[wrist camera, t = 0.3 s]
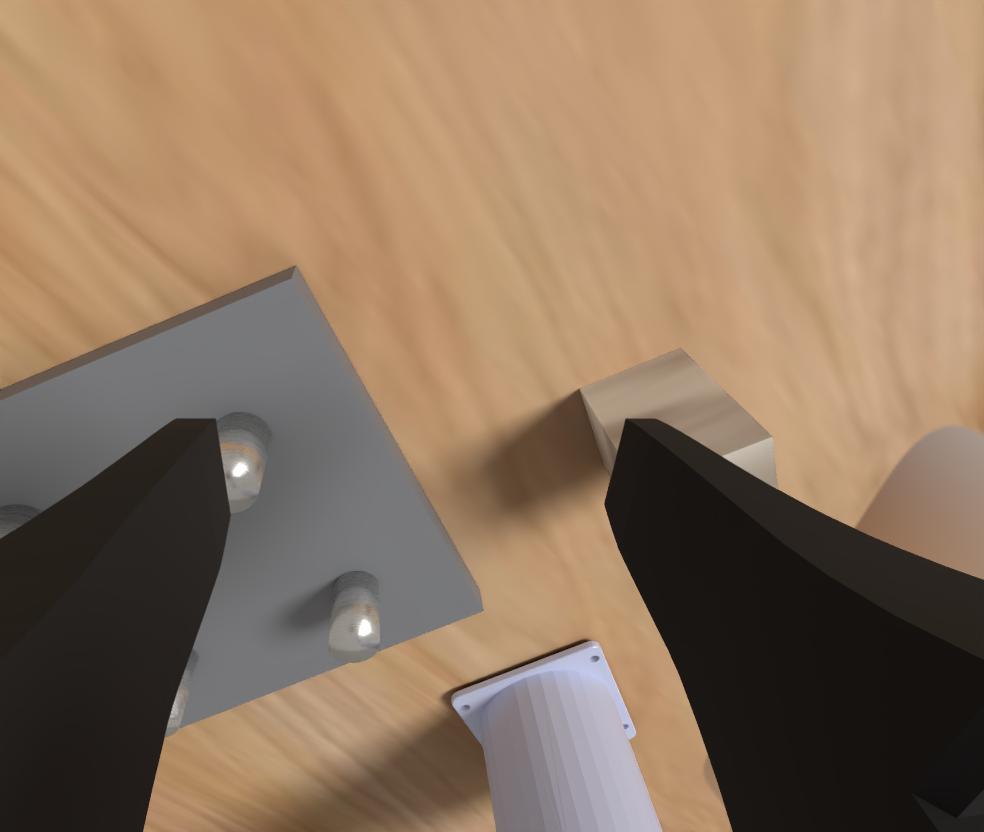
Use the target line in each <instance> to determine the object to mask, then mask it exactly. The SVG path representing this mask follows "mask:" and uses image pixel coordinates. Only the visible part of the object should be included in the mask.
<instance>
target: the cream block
mask: <svg viewBox="0 0 984 832" xmlns="http://www.w3.org/2000/svg"><path fill="white" fill-rule="evenodd" d="M579 389H580V392H581V395H582V398H583V401H584V404H585V407H586V411H587V414H588V417H589V420H590V423H591V426H592V429H593V432H594V435H595V439H596V442H597V445H598V448H599V451H600V454H601V457H602V460H603V463H604V467H605V468H606V470H607V472H608V474H609V476H610V477H611V475H612V471H613V467H614V463H615V459H616V455H617V451H618V447H619V443H620V439H621V435H622V431H623V427H624V423H625V419H626V418H656V419H658V420H660V421H662V422H664V423H666V424H668V425H670V426H672V427H674V428H676V429H677V430H679V431H681V432H683V433H684V434H686V435H688V436H689V437H691V438H693V439H694V440H696V441H698V442H699V443H701V444H703V445H704V446H706V447H707V448H709V449H711V450H712V451H714V452H716V453H717V454H719V455H720V456H722V457H724V458H725V459H727V460H729V461H730V462H732V463H734V464H735V465H737V466H739V467H740V468H742V469H743V470H745V471H747V472H749V473H750V474H752V475H754V476H755V477H757V478H759V479H760V480H762V481H764V482H766V483H767V484H769V485H771V486H773V487H774V488H776V489H778V483H777V474H776V464H775V455H774V446H773V437H772V436H771V435H770V434H769V433H768V432H767V431H766V430H765V429H764V428H763V427H762V426H761V425H760V424H759V423H758V422H757V421H756V420H755V419H754V418H753V417H752V416H751V415H750V414H749V413H748V412H747V411H746V410H745V409H744V408H743V407H742V406H741V405H739V404H738V403H737V402H736V401H735V400H734V399H733V398H732V397H731V396H730V395H729V394H728V393H727V392H726V391H725V390H724V389H723V388H722V387H721V386H720V385H719V384H718V383H717V382H716V381H715V380H714V379H713V378H712V377H711V376H710V375H709V374H707V373H706V372H705V371H704V370H703V369H702V368H701V367H700V366H699V365H698V364H697V363H696V362H695V361H694V360H693V359H692V358H691V357H690V356H689V355H688V354H687V353H686V352H685V351H684V350H683V349H682V348H679V349H677V350H674V351H672V352H669V353H667V354H664V355H662V356H659V357H657V358H654V359H652V360H649V361H647V362H644V363H642V364H639V365H637V366H634V367H632V368H629V369H627V370H624V371H622V372H619V373H617V374H614V375H612V376H609V377H607V378H604V379H602V380H599V381H597V382H594V383H592V384H589V385H587V386H584V387H582V388H579Z"/></svg>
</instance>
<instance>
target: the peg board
mask: <svg viewBox="0 0 984 832" xmlns="http://www.w3.org/2000/svg"><path fill="white" fill-rule="evenodd" d="M176 418H216V423H217V429H218V436H219V442H220V449H221V455H222V462H223V468H224V474H225V481H226V487H227V494H228V500H229V507H230V513H231V517H230V522H229V528H228V533H227V538H226V544H225V548H224V553H223V558H222V563H221V567H220V570H219V573H218V576H217V579H216V582H215V585H214V588H213V591H212V594H211V597H210V600H209V603H208V606H207V609H206V612H205V614H204V617H203V620H202V623H201V626H200V629H199V631H198V634H197V637H196V640H195V643H194V646H193V648H192V651H191V654H190V657H189V660H188V663H187V666H186V668H185V671H184V674H183V677H182V680H181V683H180V685H179V688H178V691H177V694H176V698H175V701H174V704H173V708H172V711H171V714H170V718H169V721H168V725H167V729H166V733H165V737H168V736H170V735H172V734H174V733H175V732H176V731H177V730H178V729H179V728H182V727H184V726H187V725H190V724H192V723H195V722H197V721H200V720H202V719H205V718H208V717H210V716H213V715H215V714H218V713H221V712H223V711H226V710H228V709H231V708H234V707H236V706H239V705H241V704H244V703H246V702H249V701H252V700H254V699H257V698H259V697H262V696H265V695H267V694H270V693H272V692H275V691H277V690H280V689H283V688H285V687H288V686H290V685H293V684H296V683H298V682H301V681H303V680H306V679H309V678H311V677H314V676H316V675H319V674H321V673H324V672H327V671H329V670H332V669H334V668H337V667H340V666H342V665H345V664H347V663H356V662H361V661H365V660H367V659H369V658H371V657H372V656H374V655H375V654H376V653H377V652H378V651H381V650H383V649H386V648H389V647H391V646H394V645H396V644H399V643H402V642H404V641H407V640H409V639H412V638H415V637H417V636H420V635H422V634H425V633H427V632H430V631H433V630H435V629H438V628H440V627H443V626H446V625H448V624H451V623H453V622H456V621H458V620H461V619H464V618H466V617H469V616H471V615H474V614H477V613H479V612H482V611H484V609H483V604H482V599H481V594H480V589H479V588H478V586H477V584H476V582H475V581H474V579H473V577H472V575H471V574H470V572H469V570H468V568H467V566H466V565H465V563H464V561H463V559H462V558H461V556H460V554H459V552H458V551H457V549H456V547H455V545H454V543H453V542H452V540H451V538H450V536H449V535H448V533H447V531H446V529H445V528H444V526H443V524H442V522H441V521H440V519H439V517H438V515H437V513H436V512H435V510H434V508H433V506H432V505H431V503H430V501H429V499H428V498H427V496H426V494H425V492H424V490H423V489H422V487H421V485H420V483H419V482H418V480H417V478H416V476H415V475H414V473H413V471H412V469H411V468H410V466H409V464H408V462H407V460H406V459H405V457H404V455H403V453H402V452H401V450H400V448H399V446H398V445H397V443H396V441H395V439H394V437H393V436H392V434H391V432H390V430H389V429H388V427H387V425H386V423H385V422H384V420H383V418H382V416H381V414H380V413H379V411H378V409H377V407H376V406H375V404H374V402H373V400H372V399H371V397H370V395H369V393H368V392H367V390H366V388H365V386H364V384H363V383H362V381H361V379H360V377H359V376H358V374H357V372H356V370H355V369H354V367H353V365H352V363H351V361H350V360H349V358H348V356H347V354H346V353H345V351H344V349H343V347H342V346H341V344H340V342H339V340H338V339H337V337H336V335H335V333H334V331H333V330H332V328H331V326H330V324H329V323H328V321H327V319H326V317H325V316H324V314H323V312H322V310H321V308H320V307H319V305H318V303H317V301H316V300H315V298H314V296H313V294H312V293H311V291H310V289H309V287H308V286H307V284H306V282H305V280H304V278H303V277H302V275H301V273H300V271H299V270H298V268H297V266H294V267H291V268H289V269H287V270H284V271H282V272H279V273H277V274H275V275H272V276H270V277H268V278H265V279H263V280H260V281H258V282H256V283H253V284H251V285H249V286H246V287H244V288H241V289H239V290H237V291H234V292H232V293H230V294H227V295H225V296H222V297H220V298H218V299H215V300H213V301H210V302H208V303H206V304H203V305H201V306H199V307H196V308H194V309H191V310H189V311H187V312H184V313H182V314H180V315H177V316H175V317H172V318H170V319H168V320H165V321H163V322H161V323H158V324H156V325H153V326H151V327H149V328H146V329H144V330H141V331H139V332H137V333H134V334H132V335H130V336H127V337H125V338H122V339H120V340H118V341H115V342H113V343H111V344H108V345H106V346H103V347H101V348H99V349H96V350H94V351H92V352H89V353H87V354H84V355H82V356H80V357H77V358H75V359H73V360H70V361H68V362H65V363H63V364H61V365H58V366H56V367H53V368H51V369H49V370H46V371H44V372H42V373H39V374H37V375H34V376H32V377H30V378H27V379H25V380H23V381H20V382H18V383H15V384H13V385H11V386H8V387H6V388H4V389H1V390H0V538H2V537H4V536H5V535H7V534H9V533H10V532H12V531H13V530H15V529H17V528H18V527H20V526H22V525H23V524H25V523H26V522H28V521H29V520H31V519H32V518H34V517H35V516H37V515H38V514H40V513H41V512H43V511H45V510H46V509H48V508H49V507H51V506H52V505H54V504H55V503H57V502H58V501H60V500H61V499H63V498H64V497H66V496H67V495H69V494H70V493H72V492H73V491H75V490H76V489H78V488H79V487H81V486H82V485H84V484H85V483H87V482H88V481H90V480H91V479H92V478H94V477H95V476H96V475H98V474H99V473H101V472H102V471H103V470H105V469H106V468H108V467H109V466H110V465H112V464H113V463H114V462H116V461H117V460H119V459H120V458H121V457H123V456H124V455H125V454H127V453H128V452H130V451H131V450H132V449H134V448H135V447H136V446H138V445H139V444H140V443H142V442H143V441H144V440H146V439H147V438H148V437H150V436H151V435H152V434H154V433H155V432H157V431H158V430H159V429H161V428H162V427H164V426H165V425H166V424H168V423H169V422H171V421H173V420H174V419H176Z"/></svg>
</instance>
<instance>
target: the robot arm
mask: <svg viewBox="0 0 984 832" xmlns="http://www.w3.org/2000/svg"><path fill="white" fill-rule="evenodd" d="M604 505H605V508H606V512H607V515H608V518H609V521H610V525H611V528H612V531H613V534H614V537H615V540H616V543H617V546H618V549H619V551H620V553H621V555H622V557H623V560H624V562H625V564H626V566H627V568H628V570H629V572H630V574H631V576H632V578H633V580H634V582H635V584H636V586H637V588H638V590H639V592H640V594H641V596H642V598H643V600H644V602H645V604H646V607H647V609H648V611H649V613H650V615H651V617H652V619H653V621H654V623H655V625H656V627H657V629H658V631H659V633H660V635H661V637H662V639H663V641H664V643H665V645H666V647H667V649H668V651H669V653H670V655H671V658H672V660H673V662H674V664H675V667H676V669H677V671H678V673H679V676H680V678H681V681H682V684H683V686H684V689H685V692H686V694H687V697H688V700H689V702H690V705H691V708H692V711H693V713H694V716H695V719H696V721H697V724H698V727H699V730H700V733H701V735H702V738H703V741H704V744H705V747H706V750H707V753H708V756H709V759H710V762H711V765H712V768H713V771H714V773H715V776H716V779H717V782H718V785H719V789H720V792H721V795H722V798H723V802H724V805H725V808H726V811H727V815H728V818H729V821H730V824H731V828H732V831H733V832H984V580H983V579H980V578H977V577H974V576H971V575H969V574H966V573H963V572H960V571H957V570H954V569H951V568H949V567H946V566H943V565H941V564H938V563H936V562H933V561H931V560H928V559H925V558H923V557H920V556H918V555H915V554H913V553H910V552H907V551H905V550H902V549H900V548H897V547H895V546H893V545H890V544H888V543H886V542H883V541H881V540H879V539H876V538H874V537H872V536H869V535H867V534H865V533H863V532H861V531H859V530H857V529H854V528H852V527H850V526H848V525H846V524H844V523H842V522H839V521H837V520H835V519H833V518H831V517H829V516H827V515H825V514H823V513H821V512H819V511H817V510H815V509H813V508H811V507H809V506H807V505H805V504H804V503H802V502H800V501H798V500H796V499H794V498H793V497H791V496H789V495H787V494H785V493H783V492H782V491H780V490H778V489H776V488H774V487H773V486H771V485H769V484H767V483H766V482H764V481H762V480H760V479H759V478H757V477H755V476H754V475H752V474H750V473H749V472H747V471H745V470H743V469H742V468H740V467H739V466H737V465H735V464H734V463H732V462H730V461H729V460H727V459H725V458H724V457H722V456H720V455H719V454H717V453H716V452H714V451H712V450H711V449H709V448H707V447H706V446H704V445H703V444H701V443H699V442H698V441H696V440H694V439H693V438H691V437H689V436H688V435H686V434H684V433H683V432H681V431H679V430H677V429H676V428H674V427H672V426H670V425H668V424H666V423H664V422H662V421H660V420H658V419H656V418H626V419H625V423H624V427H623V431H622V435H621V439H620V443H619V447H618V451H617V455H616V459H615V463H614V467H613V471H612V475H611V479H610V483H609V487H608V491H607V495H606V499H605V503H604ZM230 517H231V513H230V507H229V500H228V494H227V487H226V481H225V474H224V468H223V462H222V455H221V449H220V442H219V436H218V429H217V423H216V418H176V419H174V420H173V421H171V422H169V423H168V424H166V425H165V426H164V427H162V428H161V429H159V430H158V431H157V432H155V433H154V434H152V435H151V436H150V437H148V438H147V439H146V440H144V441H143V442H142V443H140V444H139V445H138V446H136V447H135V448H134V449H132V450H131V451H130V452H128V453H127V454H125V455H124V456H123V457H121V458H120V459H119V460H117V461H116V462H114V463H113V464H112V465H110V466H109V467H108V468H106V469H105V470H103V471H102V472H101V473H99V474H98V475H96V476H95V477H94V478H92V479H91V480H90V481H88V482H87V483H85V484H84V485H82V486H81V487H79V488H78V489H76V490H75V491H73V492H72V493H70V494H69V495H67V496H66V497H64V498H63V499H61V500H60V501H58V502H57V503H55V504H54V505H52V506H51V507H49V508H48V509H46V510H45V511H43V512H41V513H40V514H38V515H37V516H35V517H34V518H32V519H31V520H29V521H28V522H26V523H25V524H23V525H22V526H20V527H18V528H17V529H15V530H13V531H12V532H10V533H9V534H7V535H5V536H4V537H2V538H0V832H143V829H144V825H145V820H146V815H147V811H148V806H149V802H150V797H151V793H152V788H153V784H154V780H155V775H156V771H157V767H158V763H159V759H160V754H161V750H162V746H163V742H164V738H165V733H166V729H167V725H168V721H169V718H170V714H171V711H172V708H173V704H174V701H175V698H176V694H177V691H178V688H179V685H180V683H181V680H182V677H183V674H184V671H185V668H186V666H187V663H188V660H189V657H190V654H191V651H192V648H193V646H194V643H195V640H196V637H197V634H198V631H199V629H200V626H201V623H202V620H203V617H204V614H205V612H206V609H207V606H208V603H209V600H210V597H211V594H212V591H213V588H214V585H215V582H216V579H217V576H218V573H219V570H220V567H221V563H222V558H223V553H224V548H225V544H226V538H227V533H228V528H229V522H230ZM451 703H452V706H453V707H454V709H455V710H456V711H457V713H458V714H459V715H460V717H461V718H462V720H463V721H464V722H465V724H466V725H467V726H468V728H469V729H470V730H471V732H472V733H473V735H474V736H475V737H476V739H477V740H478V741H479V743H480V744H481V745H482V747H483V751H484V757H485V763H486V770H487V776H488V782H489V789H490V795H491V801H492V808H493V814H494V820H495V827H496V832H663V831H662V829H661V826H660V823H659V821H658V818H657V815H656V813H655V810H654V807H653V804H652V802H651V799H650V796H649V794H648V791H647V788H646V786H645V783H644V780H643V777H642V775H641V772H640V769H639V767H638V764H637V761H636V759H635V756H634V753H633V751H632V748H631V745H630V742H629V739H631V738H633V737H634V736H635V735H636V730H635V728H634V725H633V723H632V720H631V718H630V716H629V713H628V711H627V709H626V706H625V704H624V702H623V699H622V697H621V694H620V692H619V690H618V687H617V685H616V683H615V680H614V678H613V675H612V673H611V671H610V668H609V666H608V664H607V661H606V659H605V657H604V654H603V652H602V649H601V647H600V645H599V643H598V642H596V641H588V642H585V643H583V644H580V645H577V646H575V647H572V648H569V649H567V650H564V651H562V652H559V653H556V654H554V655H551V656H548V657H546V658H543V659H541V660H538V661H535V662H533V663H530V664H527V665H525V666H522V667H520V668H517V669H514V670H512V671H509V672H507V673H504V674H501V675H499V676H496V677H493V678H491V679H488V680H486V681H483V682H480V683H478V684H475V685H472V686H470V687H467V688H465V689H462V690H459V691H457V692H455V693H454V694H453V695H452V696H451Z"/></svg>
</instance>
